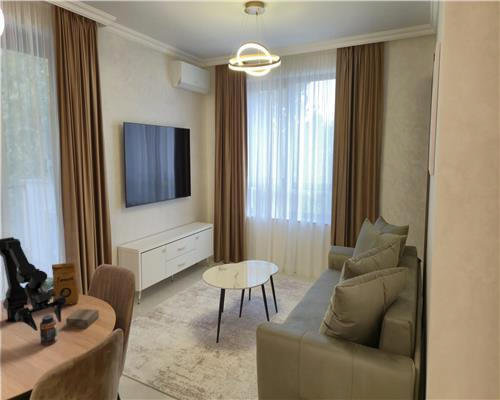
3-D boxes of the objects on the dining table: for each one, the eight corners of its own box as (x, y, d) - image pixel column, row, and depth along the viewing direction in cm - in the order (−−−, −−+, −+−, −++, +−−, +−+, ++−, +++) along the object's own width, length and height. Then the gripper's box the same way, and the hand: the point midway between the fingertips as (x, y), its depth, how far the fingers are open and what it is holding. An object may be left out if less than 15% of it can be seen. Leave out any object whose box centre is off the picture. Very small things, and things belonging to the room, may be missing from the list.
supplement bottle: (60, 340, 146) (59, 315, 145) (48, 347, 141) (46, 321, 139) (49, 337, 148) (48, 312, 147) (37, 344, 143) (35, 318, 141)
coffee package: (79, 305, 181) (77, 264, 178) (51, 308, 176) (49, 267, 173) (80, 297, 190) (78, 259, 187) (54, 301, 185) (52, 261, 182)
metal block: (66, 326, 158) (66, 318, 157) (78, 316, 168) (78, 309, 167) (87, 328, 157) (87, 319, 157) (98, 317, 167) (98, 310, 167)
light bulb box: (56, 295, 193) (55, 276, 192) (47, 300, 186) (46, 280, 185) (38, 294, 194) (37, 275, 193) (29, 298, 187) (28, 279, 186)
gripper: (15, 291, 137) (29, 325, 132) (63, 278, 152) (77, 309, 147) (9, 304, 143) (21, 338, 137) (56, 291, 158) (69, 321, 152)
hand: (48, 326), depth 143 cm, fingers open, 9 cm apart
